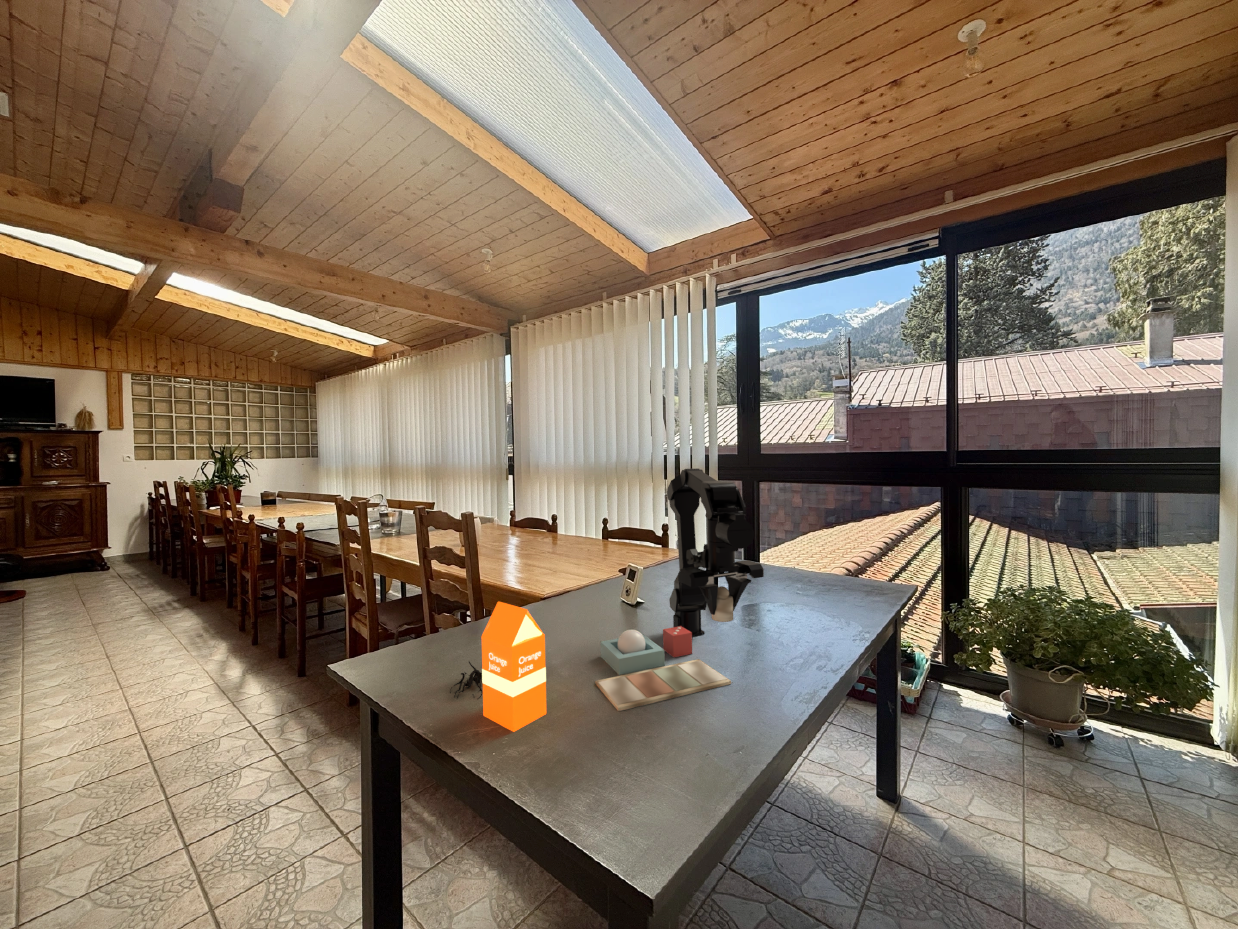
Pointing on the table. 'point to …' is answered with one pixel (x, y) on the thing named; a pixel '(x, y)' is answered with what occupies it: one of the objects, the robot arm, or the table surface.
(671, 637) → the red die
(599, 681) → the game board
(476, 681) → the creature
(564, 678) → the table surface
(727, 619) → the pawn
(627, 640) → the white ball
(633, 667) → the housing
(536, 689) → the orange juice
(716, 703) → the table surface
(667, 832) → the table surface
